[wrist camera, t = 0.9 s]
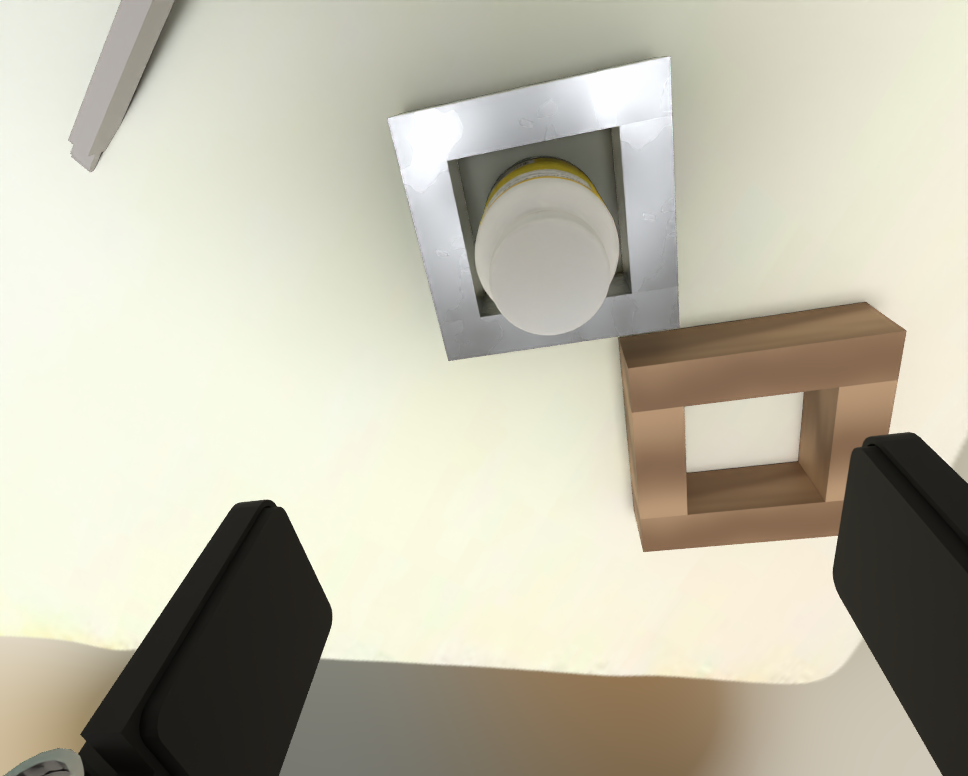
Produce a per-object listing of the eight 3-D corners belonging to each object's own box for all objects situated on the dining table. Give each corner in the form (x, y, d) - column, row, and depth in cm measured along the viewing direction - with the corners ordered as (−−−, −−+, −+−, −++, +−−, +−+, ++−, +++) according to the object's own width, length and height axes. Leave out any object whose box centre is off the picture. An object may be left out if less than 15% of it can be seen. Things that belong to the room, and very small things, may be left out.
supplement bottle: (583, 278, 28) (605, 369, 20) (477, 258, 28) (453, 340, 20) (614, 166, 26) (654, 214, 17) (497, 143, 26) (479, 180, 17)
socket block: (402, 113, 25) (387, 118, 23) (655, 57, 23) (670, 56, 21) (455, 335, 30) (448, 360, 28) (666, 303, 29) (679, 327, 26)
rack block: (618, 337, 30) (628, 368, 27) (865, 302, 28) (906, 330, 25) (633, 510, 35) (643, 552, 32) (840, 490, 33) (871, 532, 30)
